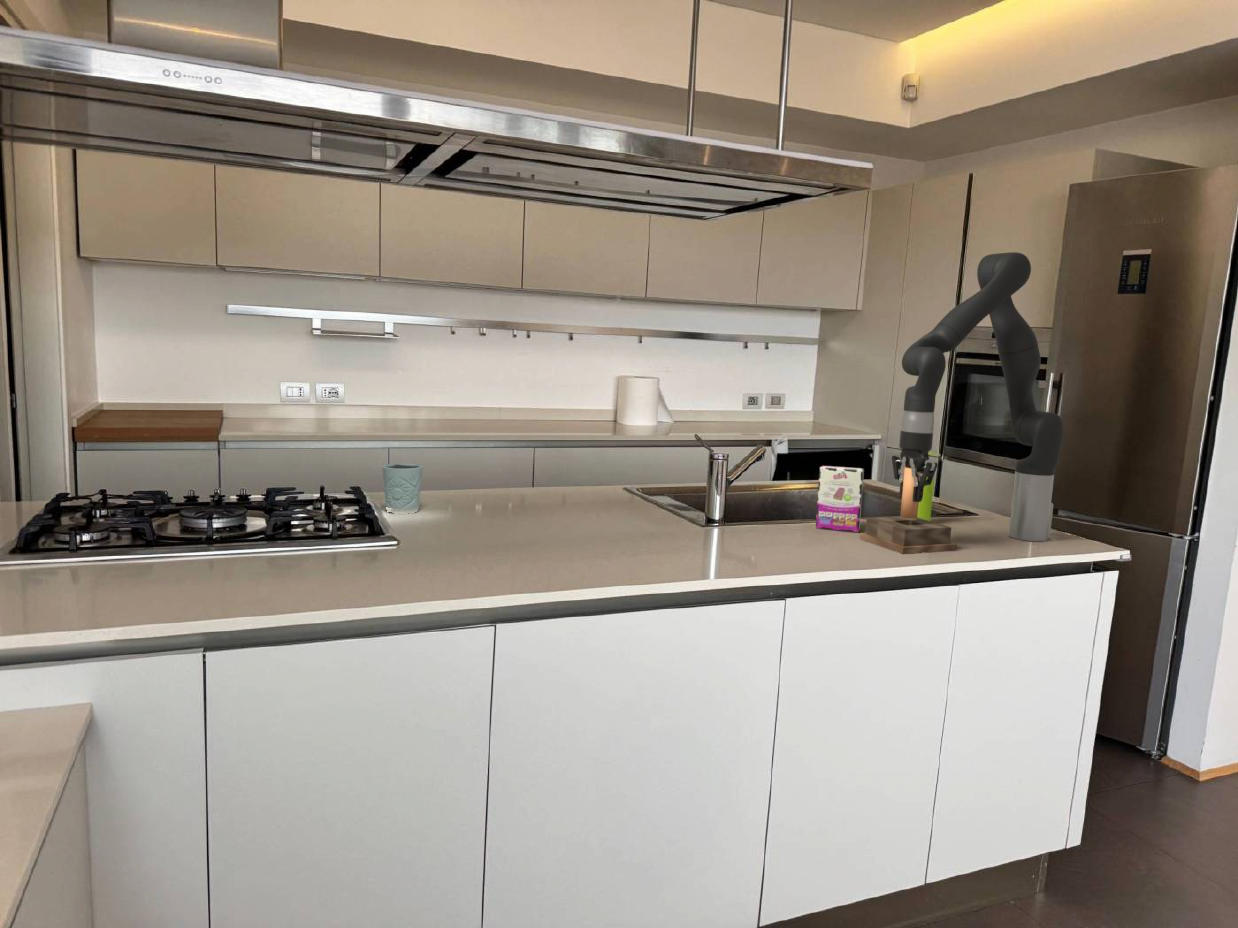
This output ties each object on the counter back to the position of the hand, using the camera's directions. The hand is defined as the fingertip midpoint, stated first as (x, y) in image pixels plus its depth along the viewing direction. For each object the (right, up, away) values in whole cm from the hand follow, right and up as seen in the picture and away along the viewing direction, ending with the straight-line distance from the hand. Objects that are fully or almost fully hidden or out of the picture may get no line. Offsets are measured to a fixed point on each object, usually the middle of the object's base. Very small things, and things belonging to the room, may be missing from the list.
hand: (910, 499), depth 216 cm
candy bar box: (-14, -9, +17) cm, 23 cm away
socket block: (0, -11, +2) cm, 11 cm away
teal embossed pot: (-128, -4, +16) cm, 129 cm away
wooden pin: (0, -4, +1) cm, 4 cm away
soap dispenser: (+13, -8, +30) cm, 33 cm away
